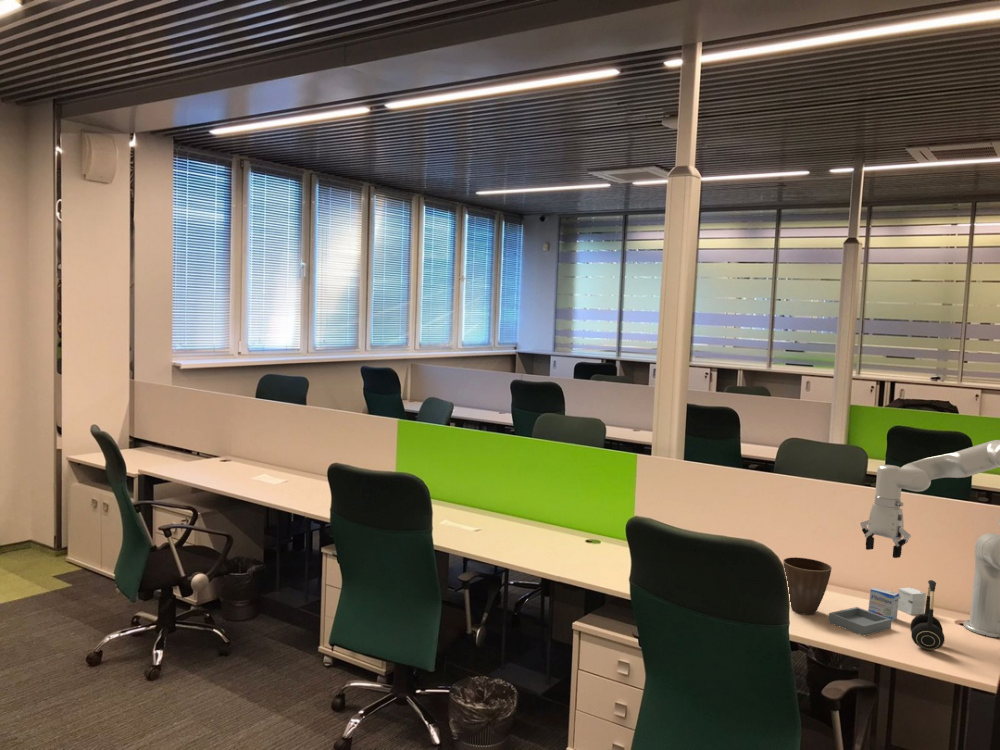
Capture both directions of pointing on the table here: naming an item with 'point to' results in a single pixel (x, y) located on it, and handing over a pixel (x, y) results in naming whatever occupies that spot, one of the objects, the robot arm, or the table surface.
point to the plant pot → (806, 583)
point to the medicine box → (883, 603)
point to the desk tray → (860, 621)
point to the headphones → (927, 625)
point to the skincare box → (911, 601)
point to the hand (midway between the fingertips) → (882, 553)
